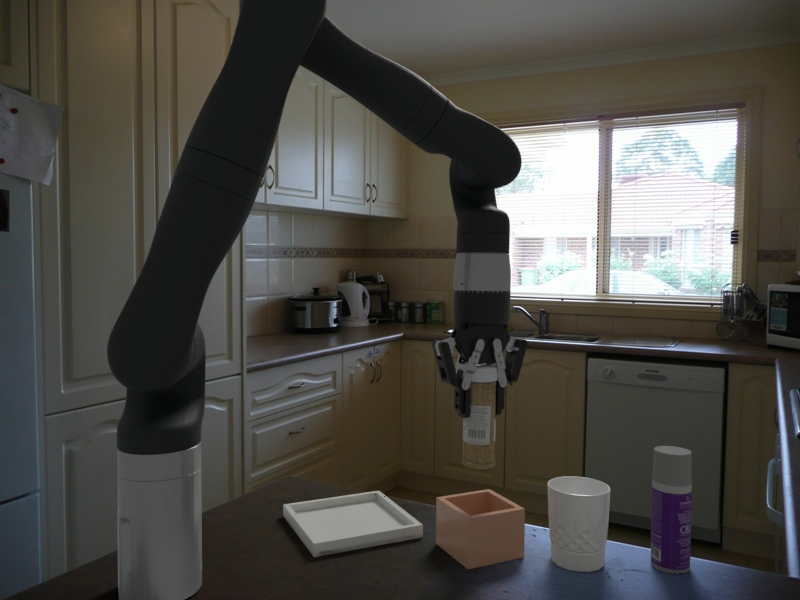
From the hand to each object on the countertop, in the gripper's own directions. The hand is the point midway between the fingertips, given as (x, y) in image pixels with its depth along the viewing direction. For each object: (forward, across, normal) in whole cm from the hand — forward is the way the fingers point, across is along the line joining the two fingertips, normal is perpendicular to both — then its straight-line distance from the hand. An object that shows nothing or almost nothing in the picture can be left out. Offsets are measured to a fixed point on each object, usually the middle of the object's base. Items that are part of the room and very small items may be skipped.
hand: (479, 414), depth 87 cm
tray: (+19, -13, +15) cm, 27 cm away
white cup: (+19, +10, -8) cm, 23 cm away
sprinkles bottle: (+7, 0, 0) cm, 7 cm away
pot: (+18, 0, 0) cm, 18 cm away
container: (+18, +20, -14) cm, 31 cm away
